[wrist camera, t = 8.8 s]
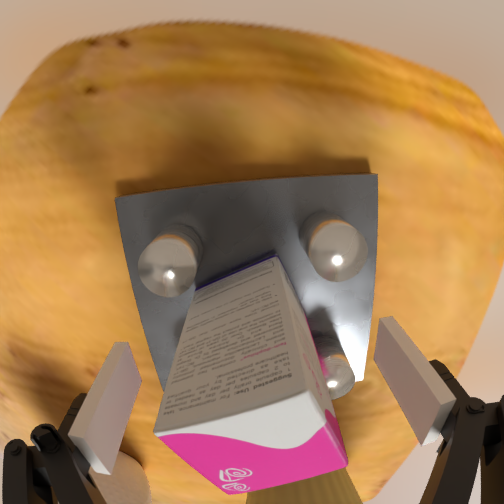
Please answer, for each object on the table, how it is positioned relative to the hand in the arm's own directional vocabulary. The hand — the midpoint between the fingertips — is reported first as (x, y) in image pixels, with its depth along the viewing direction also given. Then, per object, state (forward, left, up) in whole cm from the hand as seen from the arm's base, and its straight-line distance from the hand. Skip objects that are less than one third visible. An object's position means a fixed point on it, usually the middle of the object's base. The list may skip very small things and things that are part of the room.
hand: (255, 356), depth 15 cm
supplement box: (0, 0, -5) cm, 5 cm away
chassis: (0, 0, -6) cm, 6 cm away
